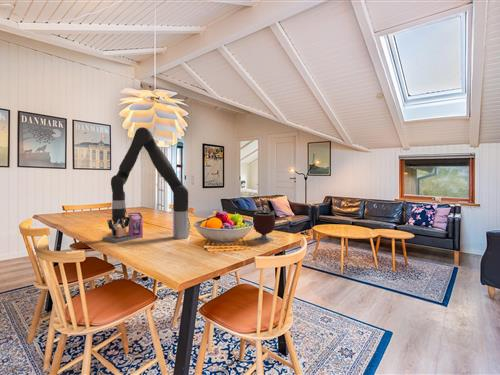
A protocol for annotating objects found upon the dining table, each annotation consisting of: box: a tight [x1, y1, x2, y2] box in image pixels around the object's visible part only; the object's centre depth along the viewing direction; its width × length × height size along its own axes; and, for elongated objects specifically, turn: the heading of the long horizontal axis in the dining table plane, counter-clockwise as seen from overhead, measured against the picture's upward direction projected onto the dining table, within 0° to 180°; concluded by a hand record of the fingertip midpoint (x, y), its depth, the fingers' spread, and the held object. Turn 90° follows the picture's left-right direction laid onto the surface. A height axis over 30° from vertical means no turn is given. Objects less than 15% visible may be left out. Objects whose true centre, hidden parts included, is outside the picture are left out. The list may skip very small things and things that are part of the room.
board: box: [102, 226, 136, 244], centre depth 169 cm, size 13×13×8 cm
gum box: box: [127, 212, 144, 239], centre depth 183 cm, size 24×8×14 cm, turn 26°
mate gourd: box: [252, 209, 277, 243], centre depth 174 cm, size 16×14×20 cm
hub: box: [110, 227, 127, 237], centre depth 169 cm, size 5×7×4 cm
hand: (118, 234), depth 169 cm, fingers closed on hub, 5 cm apart
